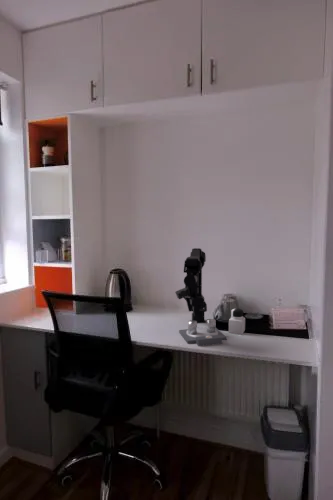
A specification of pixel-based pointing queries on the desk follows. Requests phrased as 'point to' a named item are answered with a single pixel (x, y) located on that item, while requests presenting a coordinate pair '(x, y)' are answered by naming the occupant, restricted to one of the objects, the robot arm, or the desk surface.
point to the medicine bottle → (237, 322)
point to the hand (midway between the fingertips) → (192, 313)
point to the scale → (203, 337)
